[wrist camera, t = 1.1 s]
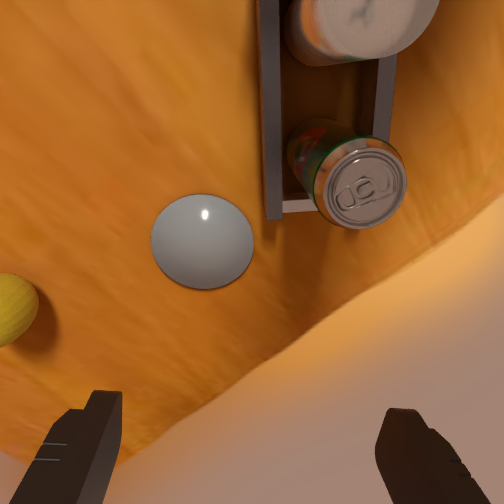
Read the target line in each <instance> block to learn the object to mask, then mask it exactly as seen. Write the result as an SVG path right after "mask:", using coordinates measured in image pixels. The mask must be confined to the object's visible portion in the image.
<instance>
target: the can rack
mask: <svg viewBox="0 0 504 504" xmlns="http://www.w3.org/2000/svg"><path fill="white" fill-rule="evenodd" d="M255 6H256V30H257V55H258V79H259V103H260V127H261V151H262V176H263V200H264V209H265V213H266V217H267V221H268V220H283V213H288V212H303V211H317V210H318V209H317V208H316V206H315V205H314V203H313V202H312V200H311V199H310V197H309V196H308V194H307V193H306V192H301V193H286V194H282V146H281V89H280V32H279V0H255ZM397 58H398V53H396V54H393V55H391V56H387V57H382V58H375V59H368V60H362V66H361V80H360V95H359V109H358V123H357V130H359V131H362V132H364V133H367V134H369V135H372V136H374V137H377V138H379V139H381V140H384V141H386V142H387V143H388V141H389V132H390V123H391V113H392V104H393V95H394V86H395V76H396V67H397Z"/></svg>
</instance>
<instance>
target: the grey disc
mask: <svg viewBox="0 0 504 504" xmlns="http://www.w3.org/2000/svg"><path fill="white" fill-rule="evenodd" d="M151 248H152V252H153V255H154V258H155V260H156V262H157V264H158V265H159V267H160V268H161V269H162V271H163V272H164V273H165V274H166V275H168V276H169V277H170V278H171V279H173V280H174V281H176V282H178V283H180V284H182V285H185V286H188V287H192V288H197V289H211V288H217V287H221V286H223V285H226V284H228V283H230V282H232V281H233V280H235V279H236V278H237V277H239V276H240V275H241V274H242V273H243V272H244V270H245V269H246V268H247V266H248V265H249V262H250V260H251V258H252V254H253V249H254V239H253V232H252V229H251V226H250V223H249V221H248V220H247V218H246V216H245V215H244V214H243V212H242V211H241V210H240V209H239V208H238V207H237V206H235V205H234V204H233V203H231V202H230V201H228V200H226V199H224V198H221V197H219V196H215V195H211V194H191V195H187V196H183V197H181V198H179V199H177V200H175V201H173V202H171V203H170V204H169V205H168V206H166V207H165V208H164V209H163V211H162V212H161V213H160V215H159V216H158V218H157V220H156V222H155V224H154V226H153V229H152V234H151Z"/></svg>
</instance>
